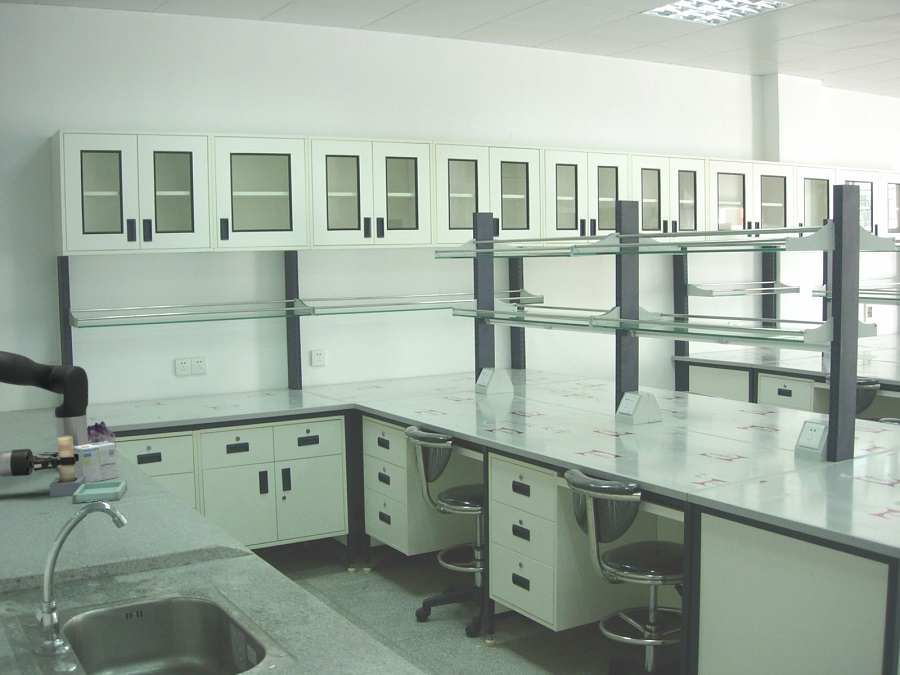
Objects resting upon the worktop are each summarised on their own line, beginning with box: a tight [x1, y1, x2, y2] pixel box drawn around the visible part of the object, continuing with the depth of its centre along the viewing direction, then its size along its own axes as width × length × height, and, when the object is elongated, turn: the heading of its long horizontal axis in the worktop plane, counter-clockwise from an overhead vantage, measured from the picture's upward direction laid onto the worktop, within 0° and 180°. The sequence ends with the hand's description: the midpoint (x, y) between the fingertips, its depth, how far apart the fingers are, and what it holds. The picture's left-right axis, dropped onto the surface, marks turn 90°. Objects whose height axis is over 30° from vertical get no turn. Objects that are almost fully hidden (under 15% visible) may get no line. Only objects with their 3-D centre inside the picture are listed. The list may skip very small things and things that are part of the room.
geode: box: [87, 420, 117, 449], centre depth 322 cm, size 20×12×10 cm, turn 27°
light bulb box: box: [73, 441, 118, 483], centre depth 274 cm, size 11×7×11 cm, turn 134°
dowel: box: [58, 436, 76, 483], centre depth 258 cm, size 4×4×16 cm
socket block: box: [49, 476, 86, 498], centre depth 259 cm, size 8×8×4 cm
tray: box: [71, 479, 128, 504], centre depth 254 cm, size 14×12×2 cm
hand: (76, 458), depth 259 cm, fingers closed on dowel, 4 cm apart
